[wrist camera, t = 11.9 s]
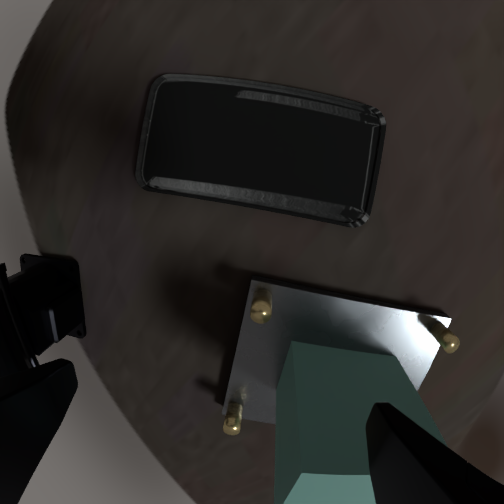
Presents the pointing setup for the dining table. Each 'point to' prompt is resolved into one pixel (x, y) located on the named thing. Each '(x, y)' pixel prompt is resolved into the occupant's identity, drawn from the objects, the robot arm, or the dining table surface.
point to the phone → (261, 147)
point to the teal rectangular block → (334, 421)
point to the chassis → (321, 339)
